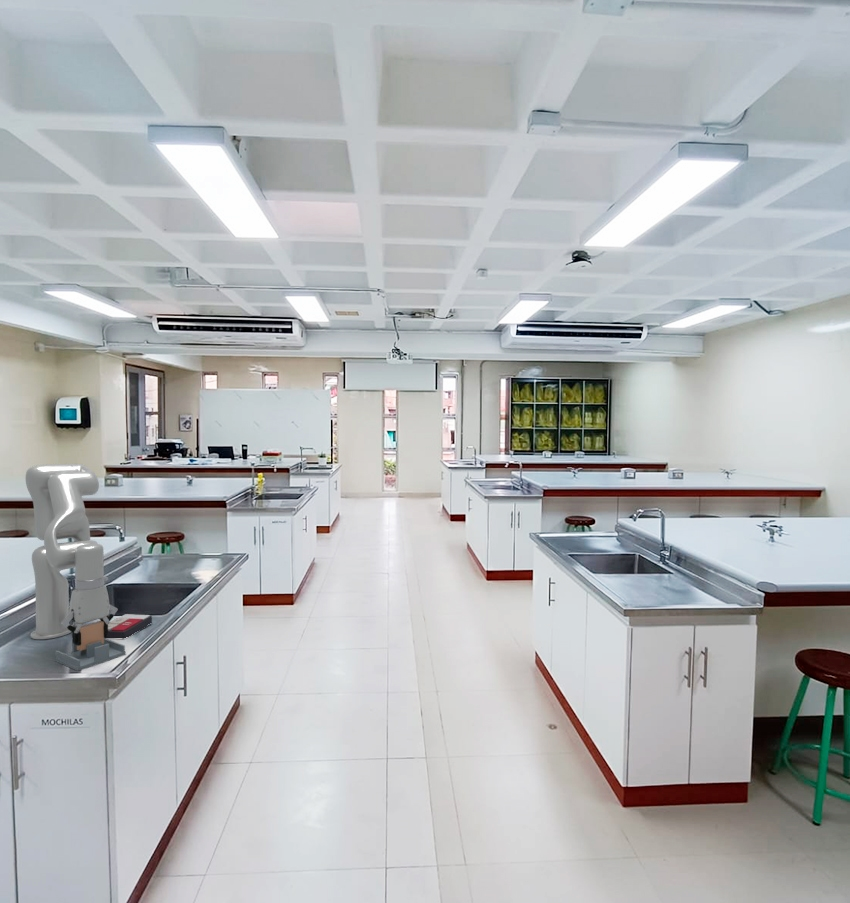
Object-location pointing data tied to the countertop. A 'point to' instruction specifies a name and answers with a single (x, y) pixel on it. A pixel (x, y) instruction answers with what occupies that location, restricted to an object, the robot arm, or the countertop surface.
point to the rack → (90, 654)
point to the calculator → (127, 625)
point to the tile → (91, 634)
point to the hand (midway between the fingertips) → (90, 640)
